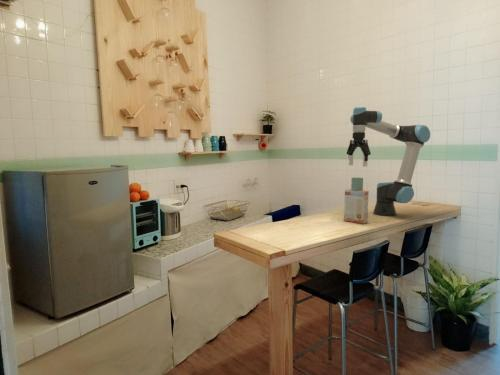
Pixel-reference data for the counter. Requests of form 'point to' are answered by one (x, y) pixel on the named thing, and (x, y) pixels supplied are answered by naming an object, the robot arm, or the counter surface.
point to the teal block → (357, 184)
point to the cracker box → (356, 206)
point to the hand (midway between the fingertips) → (357, 165)
